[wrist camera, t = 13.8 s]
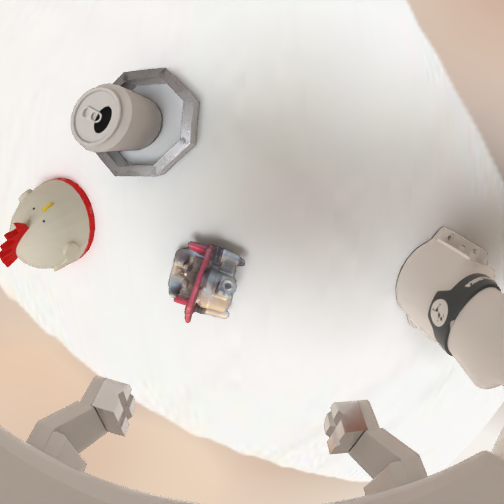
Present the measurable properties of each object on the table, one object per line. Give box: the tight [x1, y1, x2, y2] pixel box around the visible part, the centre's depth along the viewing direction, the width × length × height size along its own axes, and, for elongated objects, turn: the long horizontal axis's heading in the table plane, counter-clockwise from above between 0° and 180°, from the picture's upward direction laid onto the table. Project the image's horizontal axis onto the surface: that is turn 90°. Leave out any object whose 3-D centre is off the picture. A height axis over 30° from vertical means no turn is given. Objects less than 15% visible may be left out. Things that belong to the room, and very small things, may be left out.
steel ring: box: [96, 68, 200, 176], centre depth 30 cm, size 14×14×4 cm
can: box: [71, 84, 162, 152], centre depth 26 cm, size 8×8×12 cm
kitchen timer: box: [0, 178, 95, 271], centre depth 29 cm, size 14×14×15 cm
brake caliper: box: [168, 242, 245, 323], centre depth 36 cm, size 11×11×12 cm
